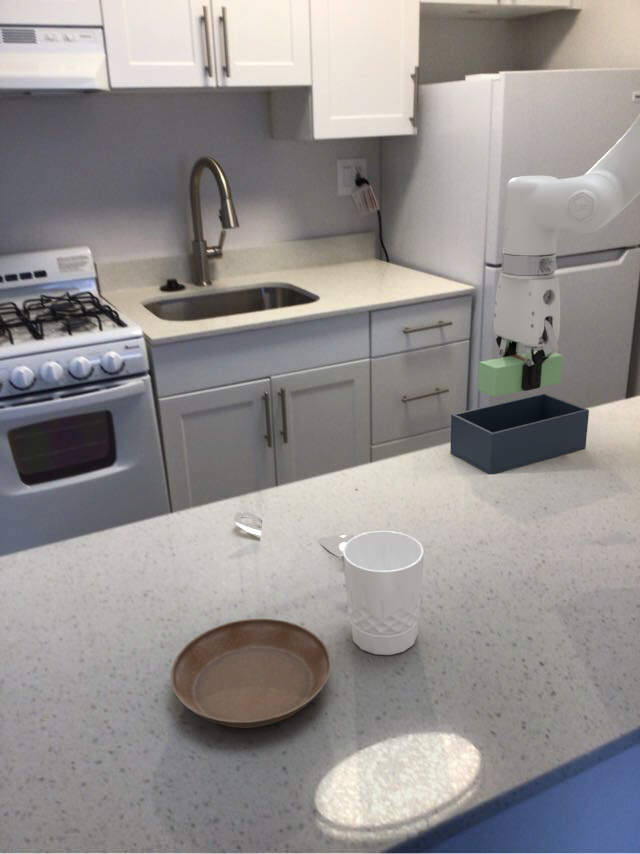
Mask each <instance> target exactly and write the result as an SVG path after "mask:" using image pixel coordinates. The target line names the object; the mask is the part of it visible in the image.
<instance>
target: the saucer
mask: <svg viewBox="0 0 640 854" xmlns="http://www.w3.org/2000/svg"><path fill="white" fill-rule="evenodd" d="M329 651H330V650H329V649H328V647H327V646H326V644H325V643H324V641H323V640H322V639H321V638H320V637H319V636H318V635H317V634H315V633H314V632H313V631H311V630H309V629H307V628H305V627H303V626H301V625H299V624H296V623H294V622H290V621H286V620H280V619H274V618H247V619H240V620H239V619H238V620H235V621H229V622H227V623H224V624H220V625H218V626H215V627H212V628H211V629H208V630H206V631H204V632H203V633H201V634H199V635H198V636H196V637H194V638H193V639H192V640H190V641H189V642H188V643H187V644H186V645H185V646H184V647H183V648H182V649H181V650H180V651H179V653H178V654H177V656H176V657H175V659H174V661H173V664H172V666H171V670H170V676H169V678H170V679H169V680H170V685H171V688H172V691H173V693H174V695H175V697H176V698H177V699H178V701H180V702H181V704H183V705H184V706H185V707H186V708H187V709H188V710H189V711H191V712H192V713H193V714H195V715H197V716H199V717H200V718H202V719H204V720H206V721H209V722H211V723H213V724H217V725H221V726H225V727H230V728H240V729H249V728H252V729H253V728H260V727H266V726H269V725H272V724H276V723H278V722H281V721H284V720H286V719H288V718H290V717H292V716H293V715H296V714H297V713H298V712H300V711H301V710H303V709H304V708H306V706H308V705H310V703H311V702H312V701H314V699H315V698H316V697H317V696H318V695H319V694H320V692H321V691H322V690H323V688H324V687H325V685H326V683H327V682H328V680H329V678H330V676H331V671H332V659H331V658H332V657H331V654H330V652H329Z"/></svg>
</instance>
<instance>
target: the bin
mask: <svg viewBox="0 0 640 854" xmlns="http://www.w3.org/2000/svg"><path fill="white" fill-rule="evenodd" d="M589 414H590V409H588V408H585V407H583V406H580V405H578V404H574V403H572V402H570V401H567V400H564V399H561V398H559V397H555V396H554V395H551V394H548V393H545V392H543V393H542V392H541V393H539V394H533V395H530V396H526V397H521V398H517V399H513V400H508V401H504V402H500V403H496V404H491V405H487V406H483V407H478V408H474V409H469V410H465V411H460V412H456V413H452V414H451V415H450V449H449V450H450V451H449V453H450V454H451V455H453V456H454V457H456V458H458V459H460V460H461V461H464V462H466V463H467V464H469V465H471V466H472V467H474V468H476V469H478V470H480V471H482V472H484V473H486V474H487V475H497V474H500V473H505V472H507V471H511V470H515V469H519V468H521V467H525V466H528V465H533V464H536V463H539V462H543V461H547V460H551V459H554V458H557V457H561V456H565V455H568V454H571V453H575V452H578V451H579V452H580V451H582V450H586V447H587V439H588V438H587V437H588V427H589V426H588V425H589V417H590V415H589Z"/></svg>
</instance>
